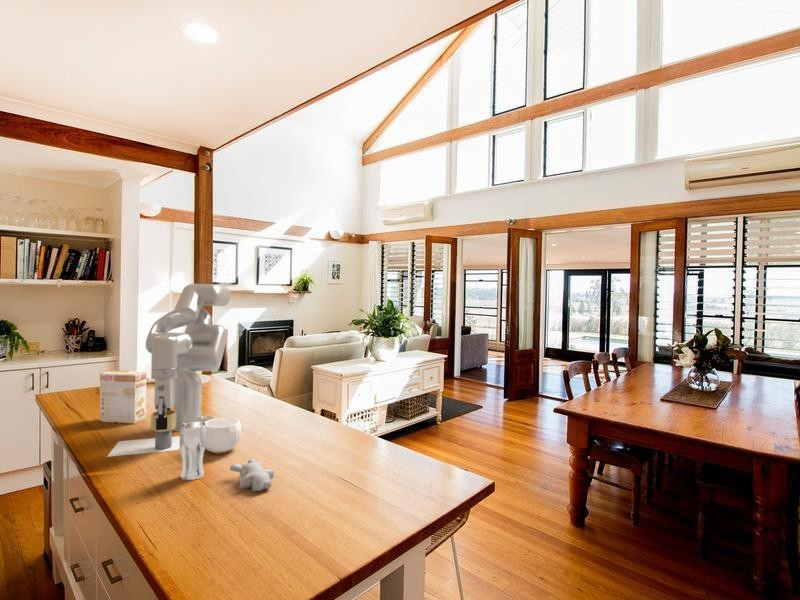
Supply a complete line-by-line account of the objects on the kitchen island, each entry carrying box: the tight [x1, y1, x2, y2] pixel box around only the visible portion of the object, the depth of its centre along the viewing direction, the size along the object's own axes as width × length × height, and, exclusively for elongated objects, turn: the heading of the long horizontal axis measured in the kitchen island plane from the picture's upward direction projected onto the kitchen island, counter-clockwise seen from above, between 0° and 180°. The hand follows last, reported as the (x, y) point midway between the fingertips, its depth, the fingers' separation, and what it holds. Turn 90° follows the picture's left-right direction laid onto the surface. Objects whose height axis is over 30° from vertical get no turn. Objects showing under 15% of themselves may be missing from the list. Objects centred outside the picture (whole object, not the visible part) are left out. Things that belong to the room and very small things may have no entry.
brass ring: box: [150, 409, 176, 433], centre depth 142 cm, size 7×7×5 cm
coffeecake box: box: [99, 370, 147, 424], centre depth 171 cm, size 15×7×20 cm, turn 84°
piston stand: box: [106, 430, 180, 458], centre depth 143 cm, size 20×14×6 cm
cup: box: [205, 416, 242, 455], centre depth 143 cm, size 12×12×10 cm
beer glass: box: [179, 421, 206, 481], centre depth 124 cm, size 7×7×15 cm
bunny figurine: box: [229, 458, 275, 493], centre depth 121 cm, size 10×5×15 cm
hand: (163, 425), depth 142 cm, fingers closed on brass ring, 7 cm apart
